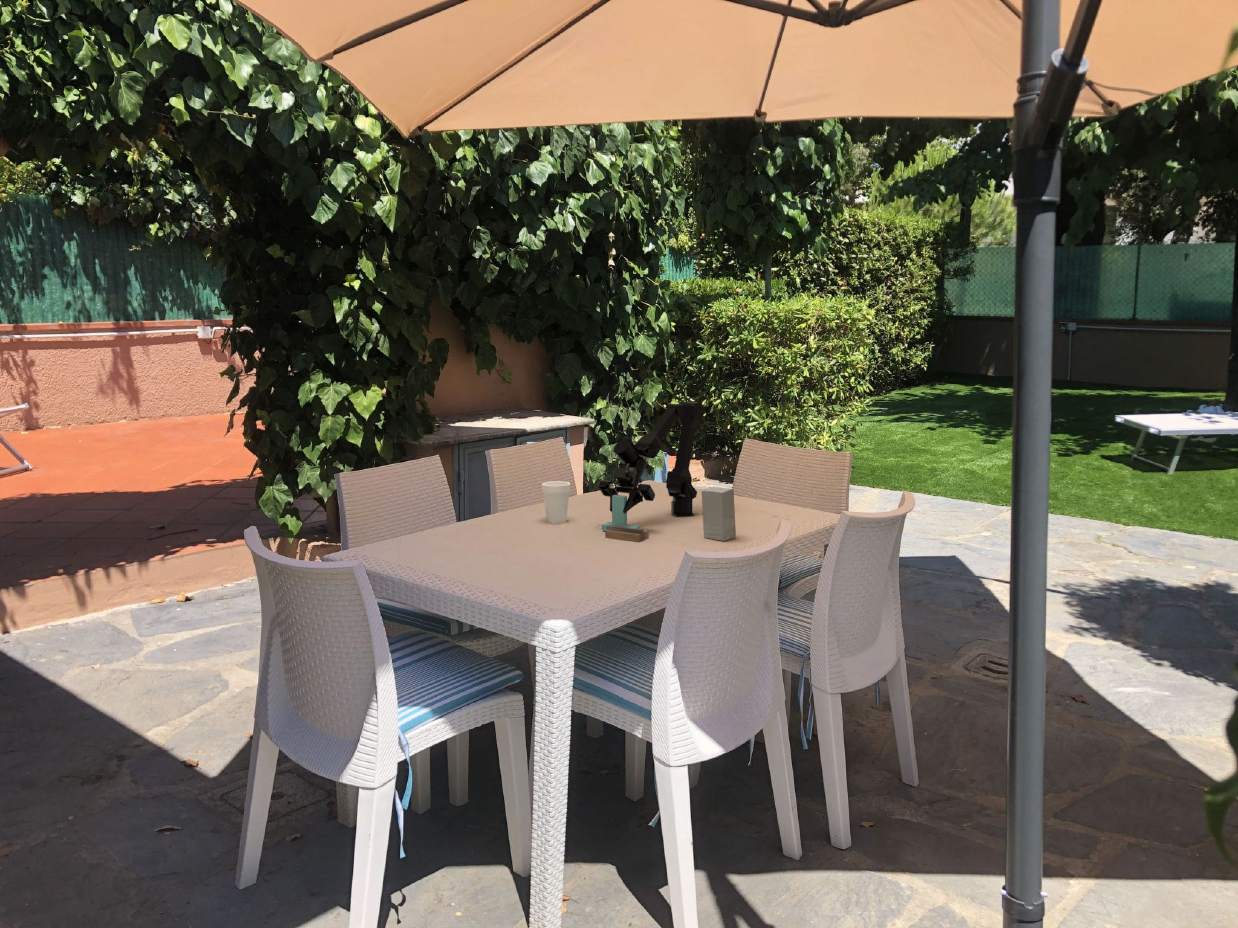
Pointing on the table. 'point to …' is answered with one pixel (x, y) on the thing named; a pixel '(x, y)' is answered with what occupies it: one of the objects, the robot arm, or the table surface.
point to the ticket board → (626, 533)
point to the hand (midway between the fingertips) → (617, 511)
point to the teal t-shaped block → (619, 513)
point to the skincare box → (718, 513)
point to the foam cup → (556, 500)
